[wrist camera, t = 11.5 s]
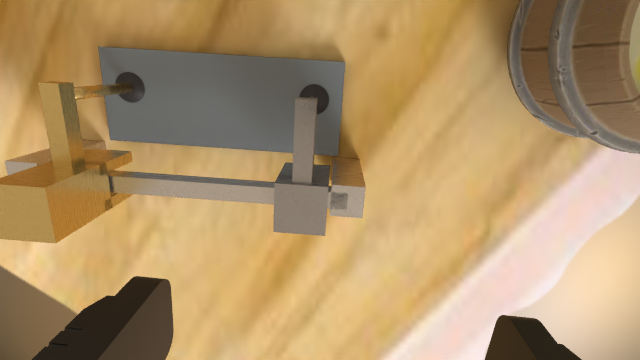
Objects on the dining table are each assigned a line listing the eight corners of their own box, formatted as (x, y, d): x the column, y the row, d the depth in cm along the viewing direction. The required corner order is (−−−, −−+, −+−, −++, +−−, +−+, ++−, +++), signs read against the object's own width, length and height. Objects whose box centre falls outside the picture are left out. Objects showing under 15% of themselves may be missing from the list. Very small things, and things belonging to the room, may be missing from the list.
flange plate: (105, 46, 38) (97, 46, 37) (345, 62, 37) (345, 61, 36) (116, 138, 41) (109, 140, 40) (337, 153, 40) (337, 156, 39)
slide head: (107, 76, 37) (-41, 84, 23) (147, 79, 37) (25, 88, 23) (119, 176, 41) (-2, 238, 26) (156, 179, 41) (55, 243, 26)
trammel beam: (69, 73, 39) (-49, 76, 27) (365, 92, 38) (378, 104, 26) (84, 169, 43) (-14, 209, 31) (356, 189, 42) (363, 238, 30)
